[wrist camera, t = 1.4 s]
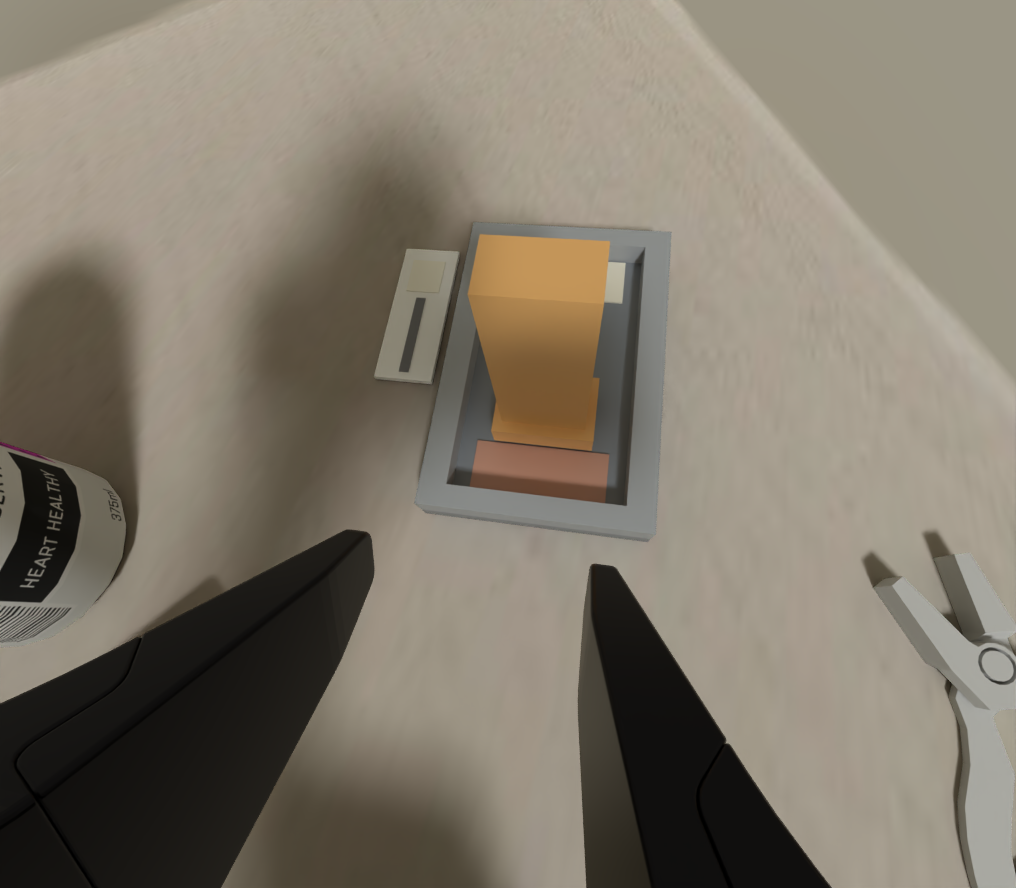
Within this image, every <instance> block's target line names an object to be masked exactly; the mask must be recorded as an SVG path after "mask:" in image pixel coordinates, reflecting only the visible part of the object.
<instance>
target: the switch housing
mask: <svg viewBox="0 0 1016 888" xmlns="http://www.w3.org/2000/svg"><path fill="white" fill-rule="evenodd" d="M480 234H485V235H504V236H522V237H541V238H560V239H579V240H598V241H610V248H609V258H608V268H607V278H606V288H605V298H604V307H603V314H602V320H601V327H600V334H599V340H598V347H597V353H596V360H595V367H594V373H593V378H600V379H599V389H598V399H597V410H596V420H595V430H594V441H593V446H592V451H588V450H579V449H570V448H561V447H552V446H543V445H533V444H524V443H515V442H506V441H497V440H494V438H493V435H492V432H491V429H492V423H493V417H494V411H495V405H496V398H495V394H494V390H493V386H492V383H491V379H490V375H489V372H488V368H487V364H486V361H485V357H484V353H483V350H482V346H481V342H480V338H479V335H478V331H477V327H476V324H475V320H474V316H473V313H472V309H471V305H470V302H469V298H468V290H469V285H470V280H471V275H472V270H473V265H474V260H475V255H476V251H477V246H478V241H479V236H480ZM670 250H671V232H662V231H642V230H622V229H602V228H582V227H562V226H542V225H522V224H502V223H482V222H473V227H472V232H471V236H470V241H469V246H468V251H467V255H466V260H465V265H464V270H463V274H462V279H461V284H460V289H459V293H458V298H457V303H456V308H455V312H454V317H453V322H452V327H451V331H450V336H449V341H448V346H447V350H446V355H445V360H444V365H443V369H442V374H441V379H440V384H439V388H438V393H437V398H436V403H435V408H434V412H433V417H432V422H431V427H430V431H429V436H428V441H427V446H426V450H425V455H424V460H423V465H422V469H421V474H420V479H419V484H418V488H417V493H416V498H415V504H416V505H417V506H418V507H419V508H421V509H422V510H423V511H424V512H425V513H430V514H438V515H446V516H453V517H461V518H469V519H476V520H484V521H492V522H499V523H507V524H514V525H522V526H530V527H537V528H545V529H553V530H560V531H568V532H576V533H583V534H591V535H599V536H606V537H614V538H621V539H629V540H637V541H644V542H648V541H649V540H650V539H651V538H652V537H653V536H654V535H656V520H657V501H658V481H659V462H660V443H661V423H662V404H663V385H664V366H665V346H666V327H667V308H668V288H669V269H670ZM459 258H460V253H459V251H441V250H424V249H407V250H406V254H405V258H404V262H403V266H402V269H401V273H400V277H399V281H398V285H397V289H396V293H395V297H394V300H393V304H392V308H391V312H390V316H389V320H388V324H387V328H386V331H385V335H384V339H383V343H382V347H381V351H380V355H379V359H378V362H377V366H376V370H375V374H374V377H375V379H381V380H391V381H402V382H412V383H423V384H432V383H433V378H434V374H435V369H436V365H437V360H438V355H439V351H440V346H441V341H442V337H443V332H444V327H445V323H446V318H447V314H448V309H449V304H450V300H451V295H452V290H453V286H454V281H455V276H456V272H457V267H458V262H459Z"/></svg>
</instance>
